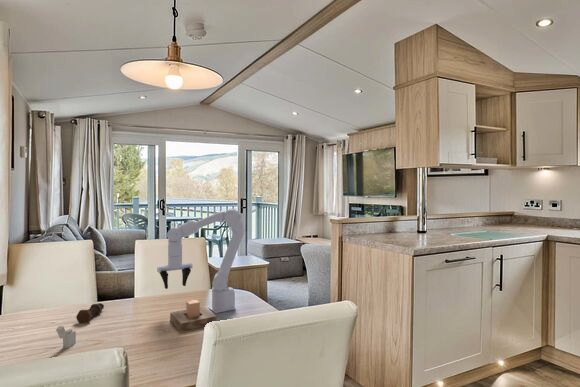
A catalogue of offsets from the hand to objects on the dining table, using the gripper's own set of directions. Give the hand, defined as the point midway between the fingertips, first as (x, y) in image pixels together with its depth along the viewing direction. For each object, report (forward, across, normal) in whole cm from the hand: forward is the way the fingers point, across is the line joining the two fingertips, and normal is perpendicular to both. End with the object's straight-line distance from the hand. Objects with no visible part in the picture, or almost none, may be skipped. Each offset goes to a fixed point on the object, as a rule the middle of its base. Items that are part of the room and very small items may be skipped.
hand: (175, 286), depth 159 cm
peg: (+10, -2, +17) cm, 20 cm away
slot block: (+10, -2, +17) cm, 20 cm away
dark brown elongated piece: (+11, +30, -12) cm, 34 cm away
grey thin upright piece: (+11, +41, +16) cm, 45 cm away
